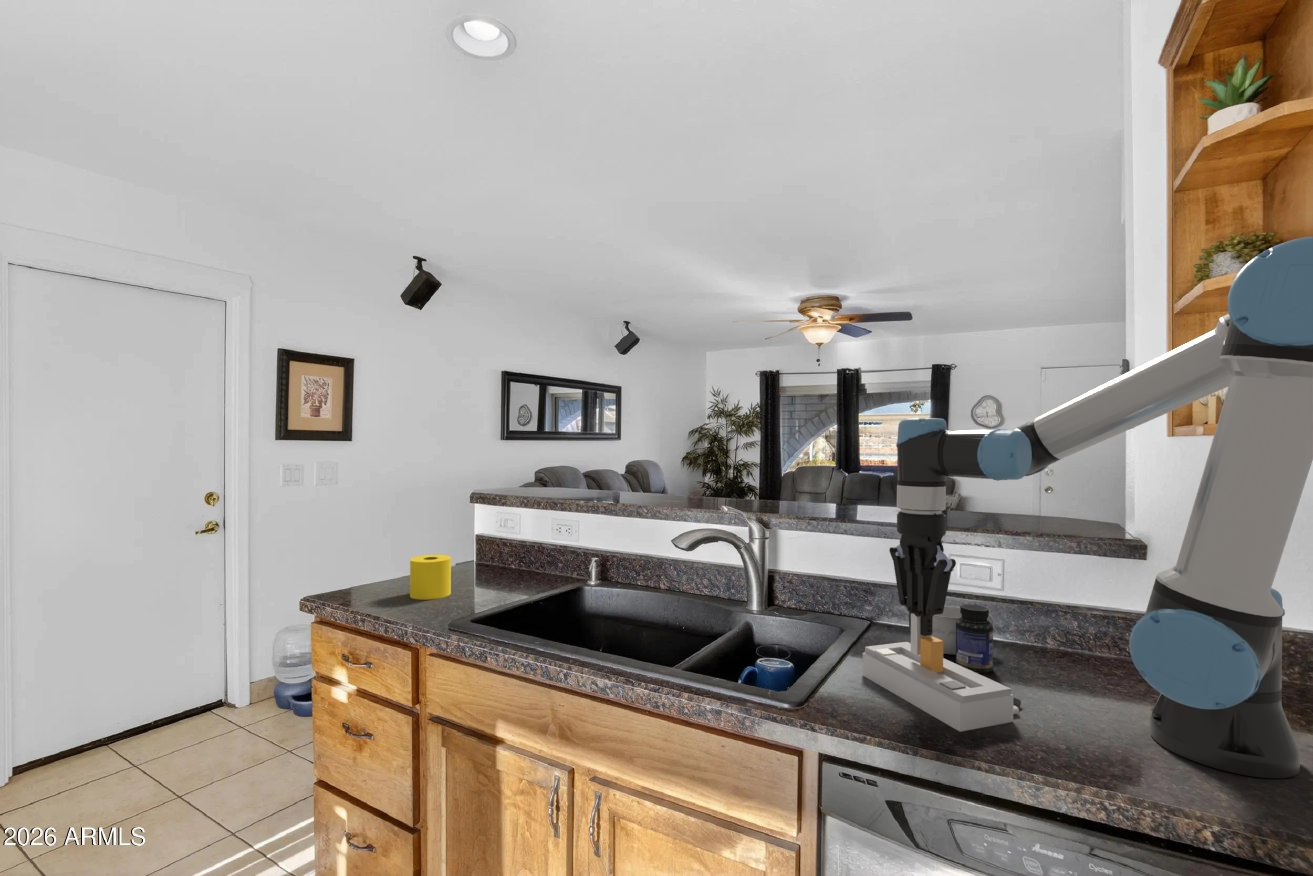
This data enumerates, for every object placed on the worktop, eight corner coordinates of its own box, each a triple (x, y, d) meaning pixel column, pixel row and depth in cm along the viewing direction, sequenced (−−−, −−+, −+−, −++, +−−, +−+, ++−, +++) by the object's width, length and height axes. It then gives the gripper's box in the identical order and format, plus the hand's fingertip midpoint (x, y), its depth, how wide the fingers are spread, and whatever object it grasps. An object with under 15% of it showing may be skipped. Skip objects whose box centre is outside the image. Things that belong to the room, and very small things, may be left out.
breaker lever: (943, 672, 101) (943, 641, 101) (931, 673, 100) (931, 642, 100) (932, 666, 103) (932, 636, 103) (920, 668, 103) (920, 637, 103)
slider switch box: (1013, 721, 93) (1013, 686, 93) (959, 731, 90) (960, 695, 90) (908, 669, 114) (909, 640, 114) (862, 675, 111) (862, 645, 111)
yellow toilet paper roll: (412, 590, 167) (412, 555, 167) (451, 588, 170) (451, 554, 170) (407, 600, 158) (408, 563, 158) (449, 598, 160) (450, 561, 160)
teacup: (924, 657, 120) (924, 615, 120) (915, 639, 131) (915, 600, 131) (1004, 664, 117) (1004, 621, 117) (988, 645, 127) (988, 605, 127)
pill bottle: (997, 675, 111) (998, 613, 111) (960, 672, 113) (961, 611, 112) (986, 662, 117) (987, 604, 117) (951, 660, 119) (952, 602, 118)
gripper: (970, 515, 99) (969, 664, 99) (911, 506, 112) (911, 638, 112) (931, 516, 97) (930, 669, 97) (876, 507, 109) (876, 643, 109)
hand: (920, 652), depth 104 cm, fingers closed
